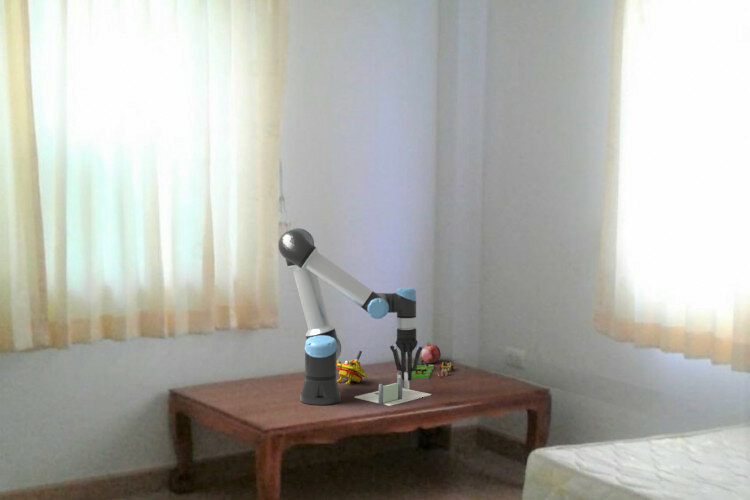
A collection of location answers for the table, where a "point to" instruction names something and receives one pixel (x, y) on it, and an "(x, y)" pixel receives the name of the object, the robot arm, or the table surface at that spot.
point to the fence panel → (398, 374)
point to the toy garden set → (426, 369)
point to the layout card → (406, 396)
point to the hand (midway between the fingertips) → (406, 388)
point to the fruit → (430, 353)
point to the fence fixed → (390, 391)
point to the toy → (351, 370)
